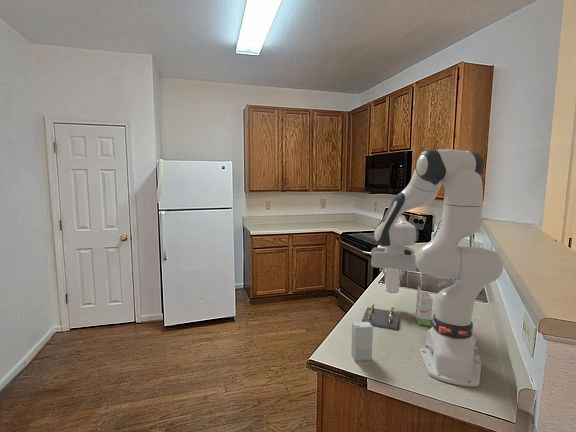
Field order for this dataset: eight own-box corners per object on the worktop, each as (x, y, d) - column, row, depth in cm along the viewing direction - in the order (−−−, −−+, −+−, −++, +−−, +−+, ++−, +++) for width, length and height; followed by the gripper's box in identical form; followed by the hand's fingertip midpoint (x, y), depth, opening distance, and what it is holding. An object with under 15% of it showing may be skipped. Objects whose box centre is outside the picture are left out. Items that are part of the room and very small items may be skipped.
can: (400, 293, 148) (402, 268, 146) (386, 293, 148) (388, 267, 146) (396, 289, 154) (398, 264, 153) (382, 288, 154) (384, 264, 153)
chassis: (396, 329, 131) (397, 319, 130) (361, 323, 136) (362, 313, 135) (398, 315, 144) (399, 305, 144) (367, 310, 150) (367, 300, 149)
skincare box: (367, 354, 112) (369, 320, 110) (372, 361, 107) (374, 326, 106) (350, 354, 111) (351, 321, 110) (354, 362, 107) (355, 327, 105)
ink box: (431, 326, 134) (434, 292, 132) (418, 325, 135) (421, 291, 133) (426, 317, 143) (429, 285, 141) (415, 316, 144) (417, 284, 142)
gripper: (370, 248, 150) (369, 277, 151) (417, 252, 142) (415, 282, 144) (372, 245, 156) (370, 273, 157) (417, 249, 148) (415, 279, 149)
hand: (392, 278), depth 150 cm, fingers closed on can, 5 cm apart
